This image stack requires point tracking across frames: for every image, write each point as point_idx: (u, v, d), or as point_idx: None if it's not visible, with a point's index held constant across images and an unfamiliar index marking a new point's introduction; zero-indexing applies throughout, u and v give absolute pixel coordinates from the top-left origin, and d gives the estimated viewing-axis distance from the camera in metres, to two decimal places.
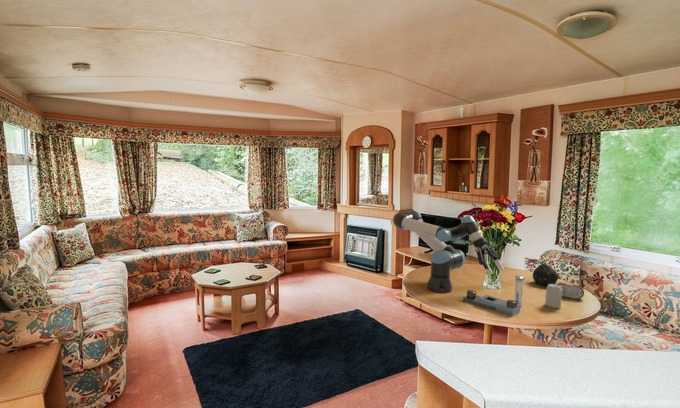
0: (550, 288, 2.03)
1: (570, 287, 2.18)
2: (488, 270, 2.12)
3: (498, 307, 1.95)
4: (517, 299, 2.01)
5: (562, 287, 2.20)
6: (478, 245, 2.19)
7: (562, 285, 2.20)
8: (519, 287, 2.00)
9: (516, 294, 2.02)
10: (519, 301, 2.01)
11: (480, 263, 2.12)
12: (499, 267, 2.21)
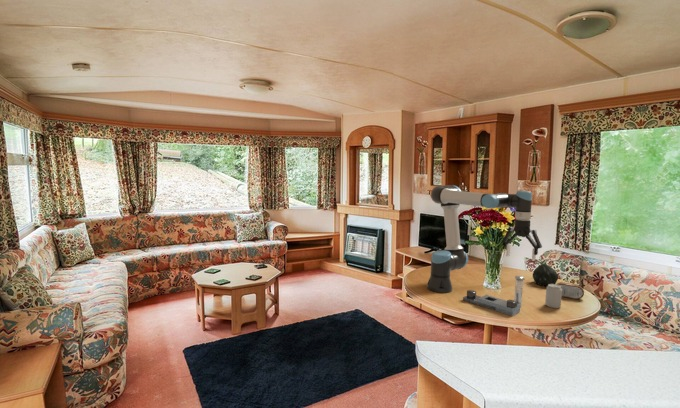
0: (550, 288, 2.03)
1: (570, 287, 2.18)
2: None
3: (498, 307, 1.95)
4: (517, 299, 2.01)
5: (562, 287, 2.20)
6: None
7: (562, 285, 2.20)
8: (519, 287, 2.00)
9: (516, 294, 2.02)
10: (519, 301, 2.01)
11: None
12: None
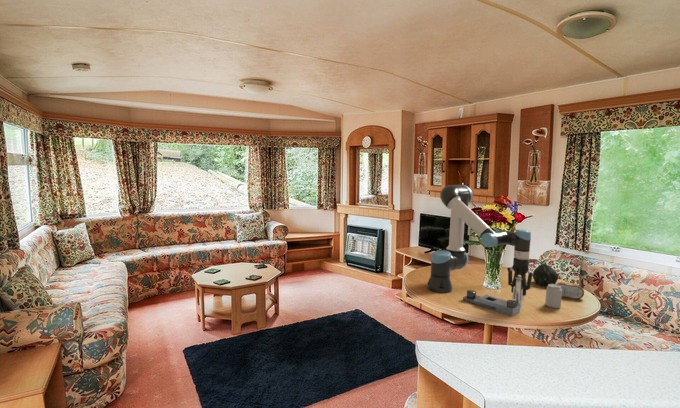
0: (550, 288, 2.03)
1: (570, 287, 2.18)
2: None
3: (498, 307, 1.95)
4: (517, 299, 2.01)
5: (562, 287, 2.20)
6: None
7: (562, 285, 2.20)
8: (519, 287, 2.00)
9: (516, 294, 2.02)
10: (519, 301, 2.01)
11: None
12: None
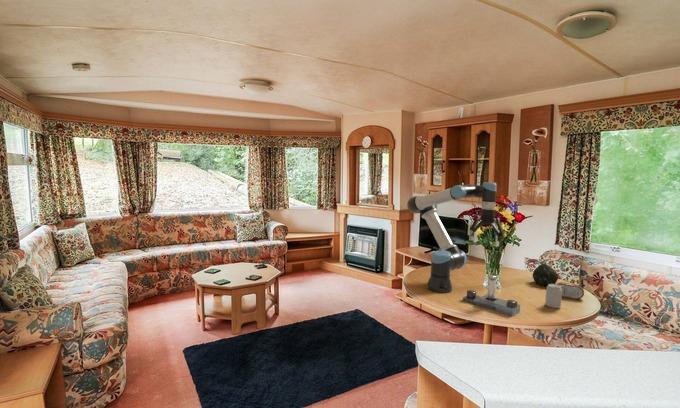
0: (550, 288, 2.03)
1: (570, 287, 2.18)
2: None
3: (498, 307, 1.95)
4: (490, 298, 2.01)
5: (562, 287, 2.20)
6: None
7: (562, 285, 2.20)
8: (491, 286, 2.00)
9: (489, 293, 2.02)
10: (491, 300, 2.01)
11: None
12: None
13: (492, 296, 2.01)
